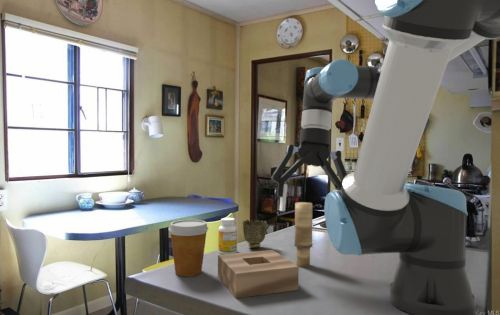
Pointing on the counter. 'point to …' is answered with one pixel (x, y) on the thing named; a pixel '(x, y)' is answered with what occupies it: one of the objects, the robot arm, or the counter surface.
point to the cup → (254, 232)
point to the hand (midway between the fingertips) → (308, 213)
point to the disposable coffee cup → (188, 246)
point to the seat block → (257, 273)
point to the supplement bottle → (227, 236)
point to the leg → (303, 232)
